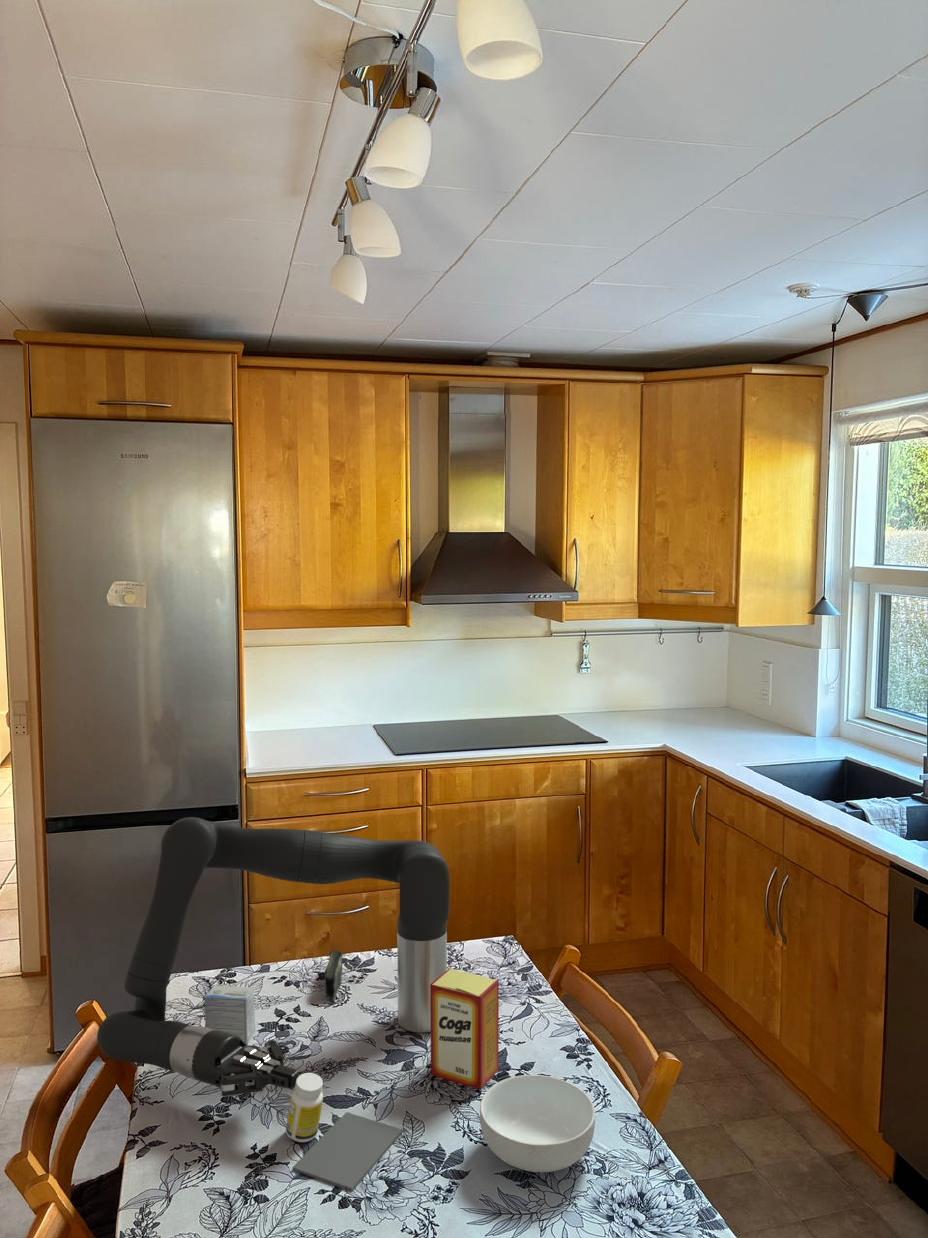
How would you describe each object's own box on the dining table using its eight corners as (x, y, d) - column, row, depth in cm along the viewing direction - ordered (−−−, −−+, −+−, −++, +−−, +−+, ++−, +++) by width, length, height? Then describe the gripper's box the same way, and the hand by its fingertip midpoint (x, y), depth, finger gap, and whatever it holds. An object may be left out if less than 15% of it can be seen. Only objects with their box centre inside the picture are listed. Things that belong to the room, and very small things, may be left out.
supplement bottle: (323, 1129, 135) (332, 1080, 133) (305, 1148, 130) (314, 1097, 129) (297, 1115, 137) (305, 1066, 135) (278, 1133, 132) (287, 1083, 131)
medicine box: (255, 1032, 163) (255, 986, 162) (247, 1045, 158) (246, 998, 158) (214, 1030, 164) (213, 984, 163) (204, 1043, 159) (203, 996, 159)
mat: (292, 1170, 126) (292, 1167, 126) (346, 1114, 138) (346, 1112, 138) (352, 1191, 121) (352, 1188, 121) (402, 1132, 134) (402, 1129, 134)
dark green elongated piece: (328, 948, 188) (322, 980, 173) (342, 948, 188) (338, 979, 173) (328, 972, 188) (323, 1005, 173) (343, 971, 188) (338, 1004, 173)
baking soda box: (430, 1074, 149) (430, 982, 148) (449, 1055, 155) (449, 966, 154) (480, 1090, 145) (480, 995, 144) (498, 1070, 150) (498, 978, 150)
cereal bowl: (563, 1211, 118) (564, 1160, 117) (457, 1166, 127) (457, 1118, 126) (613, 1140, 132) (613, 1094, 132) (515, 1104, 141) (515, 1061, 141)
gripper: (175, 1052, 135) (267, 1079, 127) (233, 1013, 147) (321, 1035, 139) (177, 1100, 135) (269, 1129, 128) (235, 1057, 147) (322, 1081, 139)
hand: (296, 1080), depth 133 cm, fingers closed
